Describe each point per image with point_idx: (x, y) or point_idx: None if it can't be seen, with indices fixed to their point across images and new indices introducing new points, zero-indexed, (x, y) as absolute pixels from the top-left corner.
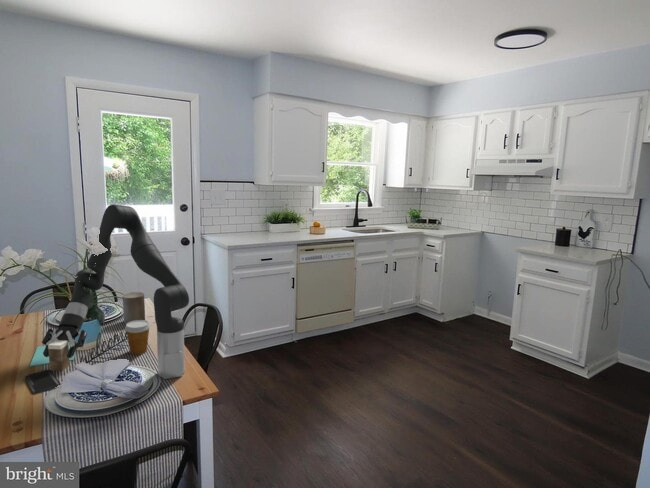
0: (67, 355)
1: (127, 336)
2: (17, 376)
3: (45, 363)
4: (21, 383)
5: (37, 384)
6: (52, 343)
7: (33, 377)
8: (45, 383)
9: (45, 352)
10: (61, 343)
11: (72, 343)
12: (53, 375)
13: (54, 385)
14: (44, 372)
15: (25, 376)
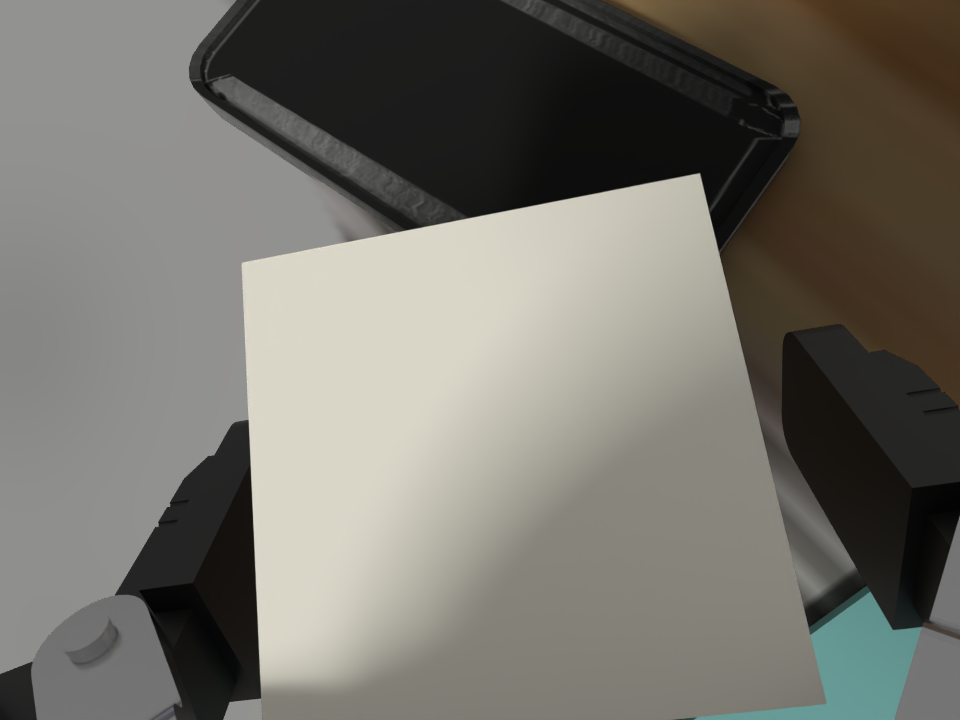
0: None
1: None
2: (945, 122)
3: None
4: (699, 7)
5: (446, 4)
6: (650, 324)
7: (651, 117)
8: (374, 50)
9: (831, 353)
10: (325, 421)
11: (110, 680)
12: None
13: (241, 49)
14: None
15: (781, 97)
